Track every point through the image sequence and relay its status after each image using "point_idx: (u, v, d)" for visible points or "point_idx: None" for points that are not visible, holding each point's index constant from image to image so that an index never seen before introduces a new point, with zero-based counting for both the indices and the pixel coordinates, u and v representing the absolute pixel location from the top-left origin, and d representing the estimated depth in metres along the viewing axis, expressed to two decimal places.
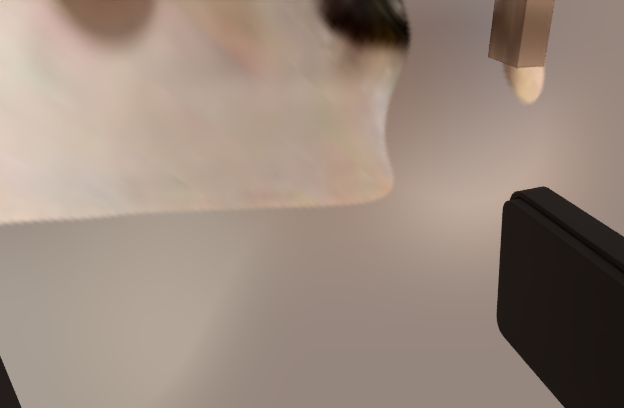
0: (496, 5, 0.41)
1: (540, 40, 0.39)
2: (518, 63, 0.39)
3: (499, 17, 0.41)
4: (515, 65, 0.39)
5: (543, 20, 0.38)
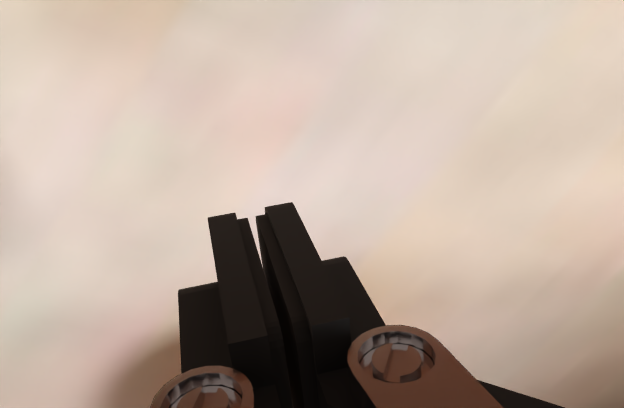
0: None
1: None
2: None
3: None
4: None
5: None
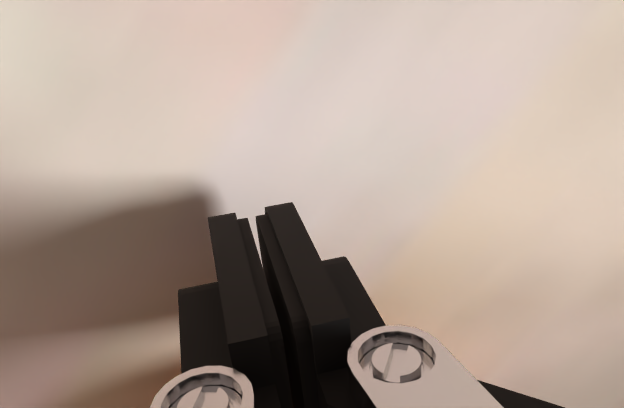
0: None
1: None
2: None
3: None
4: None
5: None
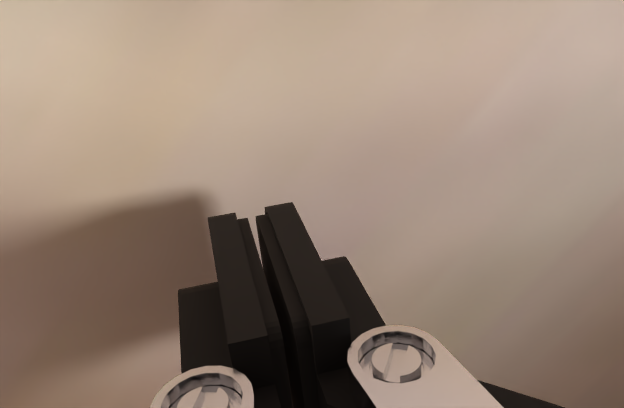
0: None
1: None
2: None
3: None
4: None
5: None
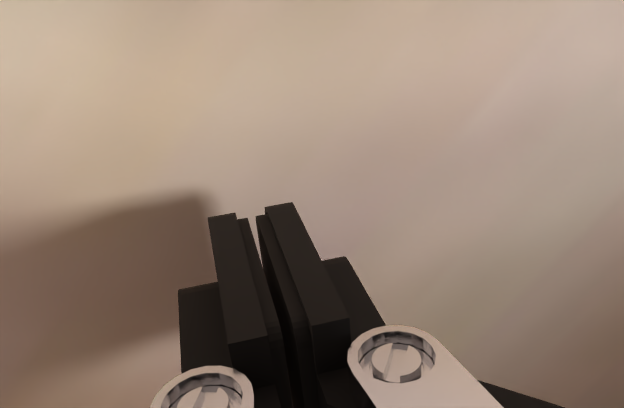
0: None
1: None
2: None
3: None
4: None
5: None
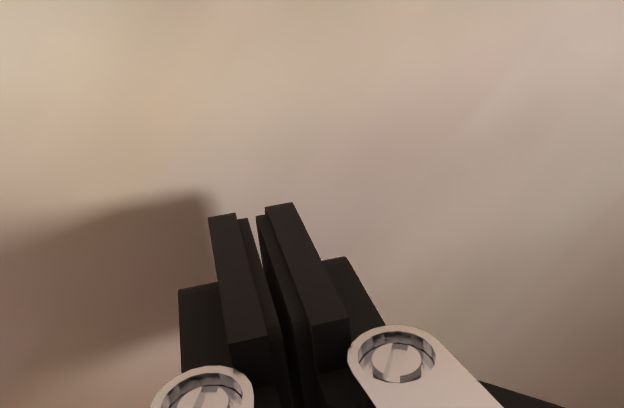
0: None
1: None
2: None
3: None
4: None
5: None
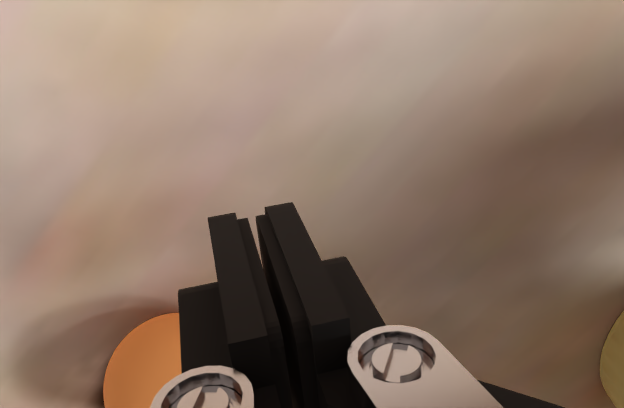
0: None
1: None
2: None
3: None
4: None
5: None
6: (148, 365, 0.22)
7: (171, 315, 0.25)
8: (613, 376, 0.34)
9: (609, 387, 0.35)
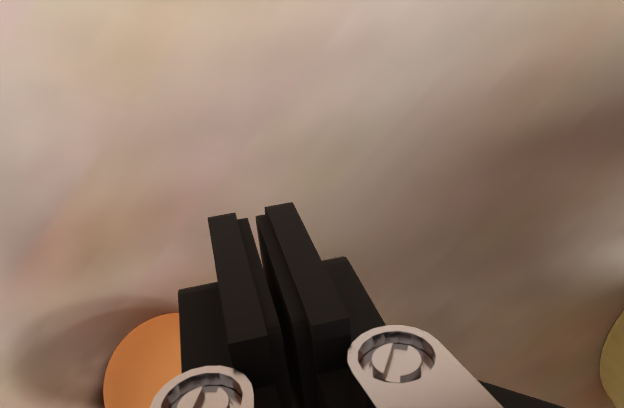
0: None
1: None
2: None
3: None
4: None
5: None
6: (148, 365, 0.22)
7: (171, 315, 0.25)
8: (613, 376, 0.34)
9: (609, 387, 0.35)
